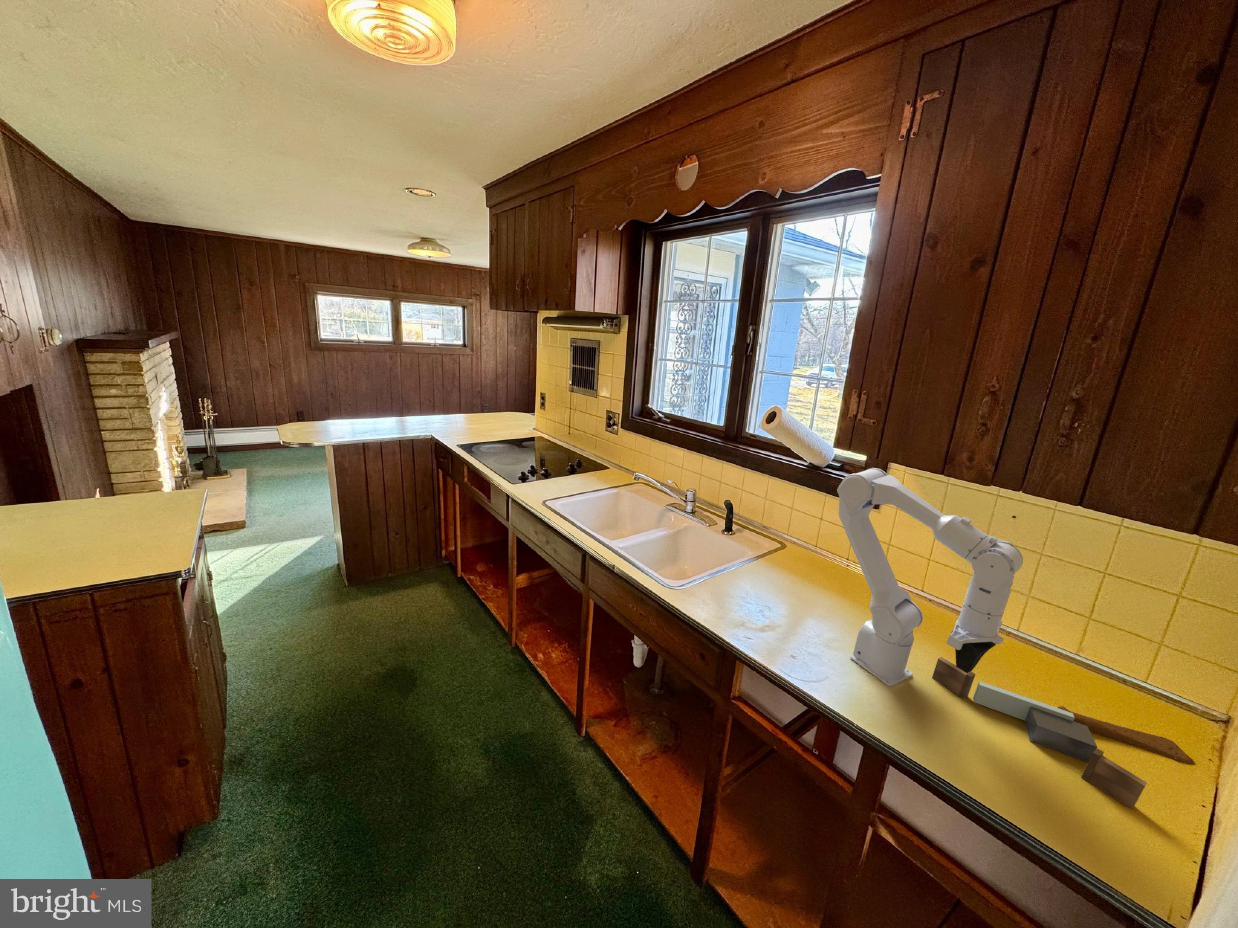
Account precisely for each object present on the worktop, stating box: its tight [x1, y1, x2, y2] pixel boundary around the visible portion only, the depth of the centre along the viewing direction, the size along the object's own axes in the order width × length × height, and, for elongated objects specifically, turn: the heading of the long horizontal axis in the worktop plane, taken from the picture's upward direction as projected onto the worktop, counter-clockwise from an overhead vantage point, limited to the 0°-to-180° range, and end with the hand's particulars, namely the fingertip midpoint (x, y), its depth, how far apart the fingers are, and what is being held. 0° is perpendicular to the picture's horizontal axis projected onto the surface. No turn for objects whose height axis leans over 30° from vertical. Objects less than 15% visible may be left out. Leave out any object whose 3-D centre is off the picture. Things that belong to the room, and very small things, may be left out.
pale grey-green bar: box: [972, 680, 1075, 721], centre depth 88 cm, size 14×2×4 cm, turn 60°
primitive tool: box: [1057, 705, 1195, 765], centre depth 85 cm, size 19×6×4 cm, turn 74°
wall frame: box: [931, 656, 1148, 810], centre depth 84 cm, size 30×2×6 cm, turn 28°
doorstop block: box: [1023, 707, 1098, 764], centre depth 83 cm, size 8×5×4 cm, turn 60°
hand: (963, 668), depth 87 cm, fingers closed
